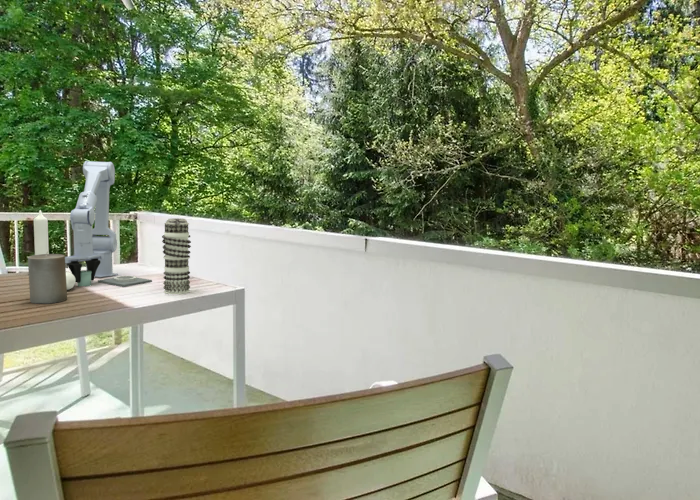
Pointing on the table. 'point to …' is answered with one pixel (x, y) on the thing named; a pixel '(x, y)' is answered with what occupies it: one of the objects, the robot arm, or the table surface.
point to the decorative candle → (176, 256)
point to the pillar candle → (47, 278)
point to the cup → (85, 278)
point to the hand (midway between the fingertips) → (84, 281)
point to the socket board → (124, 281)
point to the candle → (41, 234)
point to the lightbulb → (70, 280)
